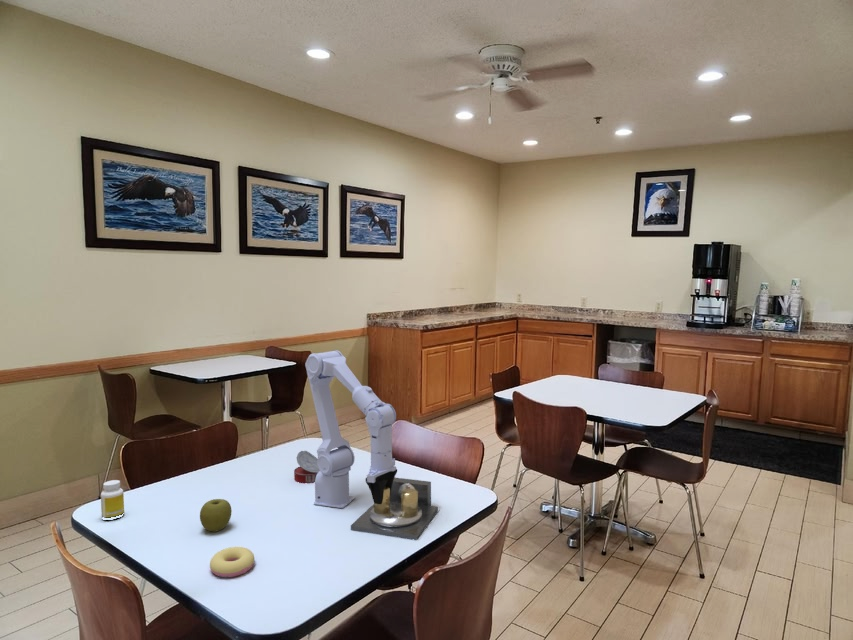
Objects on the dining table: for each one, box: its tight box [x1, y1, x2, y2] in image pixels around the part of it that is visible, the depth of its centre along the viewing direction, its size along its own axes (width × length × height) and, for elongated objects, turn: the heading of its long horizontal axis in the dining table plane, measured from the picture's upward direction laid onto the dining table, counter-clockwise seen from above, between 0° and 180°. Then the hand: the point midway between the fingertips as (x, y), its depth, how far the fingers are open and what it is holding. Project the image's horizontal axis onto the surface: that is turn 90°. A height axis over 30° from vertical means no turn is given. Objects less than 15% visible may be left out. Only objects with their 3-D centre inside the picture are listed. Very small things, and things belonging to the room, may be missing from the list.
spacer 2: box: [401, 489, 418, 517], centre depth 145 cm, size 4×4×6 cm
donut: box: [209, 546, 255, 578], centre depth 123 cm, size 10×5×9 cm
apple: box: [199, 498, 233, 533], centre depth 142 cm, size 8×8×7 cm
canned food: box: [293, 450, 320, 484], centre depth 179 cm, size 11×10×10 cm
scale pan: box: [370, 502, 422, 527], centre depth 146 cm, size 14×14×1 cm
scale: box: [350, 476, 439, 541], centre depth 148 cm, size 18×21×7 cm
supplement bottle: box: [100, 479, 125, 518], centre depth 149 cm, size 5×5×10 cm
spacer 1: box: [373, 486, 390, 514], centre depth 147 cm, size 4×4×6 cm
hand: (382, 499), depth 147 cm, fingers open, 5 cm apart
